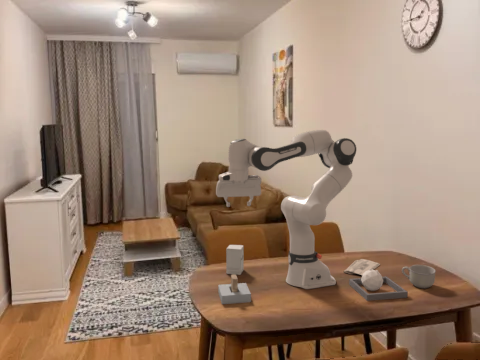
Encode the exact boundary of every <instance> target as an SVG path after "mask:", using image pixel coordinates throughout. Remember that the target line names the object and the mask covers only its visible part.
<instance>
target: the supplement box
mask: <svg viewBox="0 0 480 360" xmlns="http://www.w3.org/2000/svg"><path fill="white" fill-rule="evenodd" d="M244 247H245V246H244V245H242V244H229V245H228V246H227V247H226V250H225V252H226V253H225V254H226V255H225V257H226V260H225V261H226V264H225V266H226V274H227V275H235V274H236V276H237V275H239V276H240V275H242V273H243V271H244V267H245V265H244V264H245V263H244V262H245V261H244Z"/></svg>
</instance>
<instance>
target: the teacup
mask: <svg viewBox="0 0 480 360" xmlns="http://www.w3.org/2000/svg"><path fill="white" fill-rule="evenodd" d="M405 270H407V271H408V273H409V274H407V273H406V272H405ZM436 271H437V270H436V269H435V268H434V267H432V266H429V265H426V264H413V265H411V266H403V267H402V268H401V273H402V274H403V276H405V277H406V278H407V279H408V280H409V282H410V283H411V284H412V285H413V286H414V287H415V288H418V289H428V288H431V287H432V286H433V285H434V284H435V280H436V279H435V278H436Z"/></svg>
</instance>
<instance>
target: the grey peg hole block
mask: <svg viewBox="0 0 480 360" xmlns="http://www.w3.org/2000/svg"><path fill="white" fill-rule="evenodd" d="M217 288H218V289H217V290H218V292H217V293H218V296H219V300H220V303H221V305H227V304H228V305H229V304H231V305H232V304H242V303H251V302H252V293H251V291H250V289H249V287H248V284H247V282H242V283H241V282H240V283H239V282H238V292H232V293H231V283H228V284H227V283H226V284H223V283H222V284H218V286H217Z"/></svg>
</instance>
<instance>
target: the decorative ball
mask: <svg viewBox="0 0 480 360" xmlns="http://www.w3.org/2000/svg"><path fill="white" fill-rule="evenodd" d="M382 277H383V276H382V274H381V273H380V272H379V270H378V269H374V270H373V269H369V270H368V271H365V272H364V273H363V275H361V281H362V284H361V285H362V286H363V287H364V288H365V289H366V290H368V291H371V292H374V291H378V290H379V289H380V288H382V287H383V284H384V283H383V278H382Z"/></svg>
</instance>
